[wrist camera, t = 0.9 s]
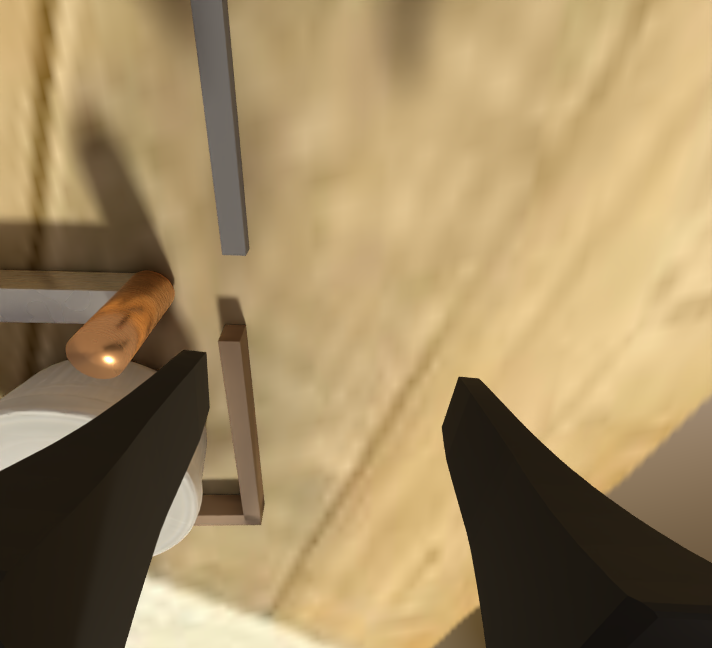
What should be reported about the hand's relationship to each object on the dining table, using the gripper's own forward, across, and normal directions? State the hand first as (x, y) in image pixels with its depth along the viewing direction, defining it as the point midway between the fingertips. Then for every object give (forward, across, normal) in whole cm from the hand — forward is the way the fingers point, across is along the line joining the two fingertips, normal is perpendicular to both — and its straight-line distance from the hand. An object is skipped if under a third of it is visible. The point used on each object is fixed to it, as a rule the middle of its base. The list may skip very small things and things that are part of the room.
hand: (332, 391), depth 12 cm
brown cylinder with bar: (+8, +14, +2) cm, 16 cm away
